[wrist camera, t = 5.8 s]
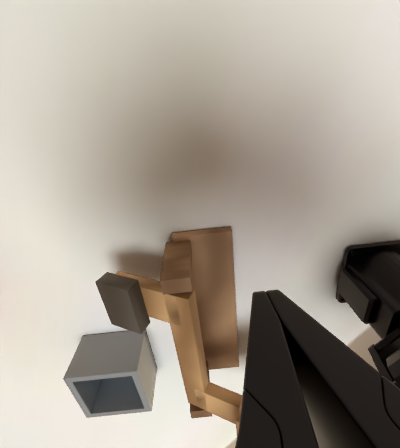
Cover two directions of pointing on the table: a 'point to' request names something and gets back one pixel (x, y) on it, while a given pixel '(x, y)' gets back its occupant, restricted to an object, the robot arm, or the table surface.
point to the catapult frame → (206, 291)
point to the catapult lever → (181, 329)
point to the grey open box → (113, 374)
